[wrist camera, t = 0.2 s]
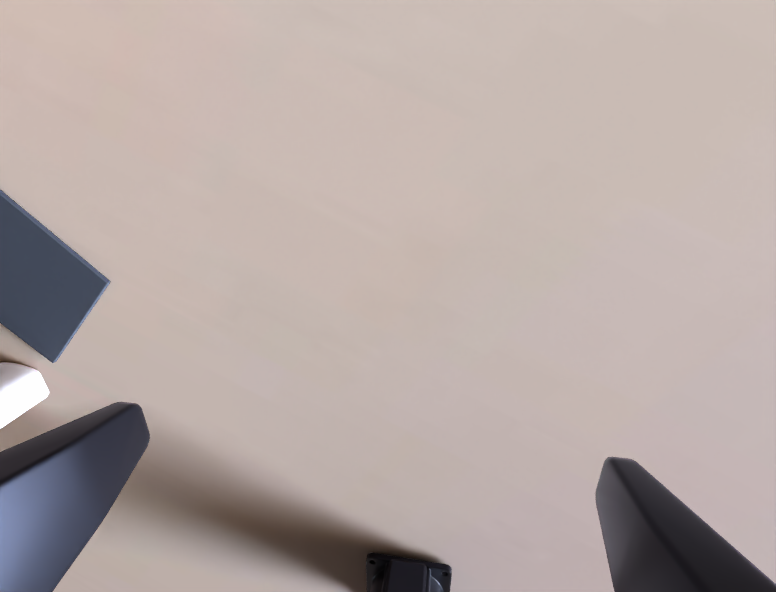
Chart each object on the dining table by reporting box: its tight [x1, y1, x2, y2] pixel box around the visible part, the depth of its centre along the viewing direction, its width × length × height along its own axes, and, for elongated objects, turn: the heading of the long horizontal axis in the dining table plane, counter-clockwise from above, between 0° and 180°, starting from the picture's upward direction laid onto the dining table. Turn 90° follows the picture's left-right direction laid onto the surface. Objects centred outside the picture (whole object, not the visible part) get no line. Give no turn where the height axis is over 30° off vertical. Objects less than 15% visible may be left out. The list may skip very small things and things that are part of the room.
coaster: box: [0, 190, 110, 363], centre depth 26 cm, size 9×9×1 cm
